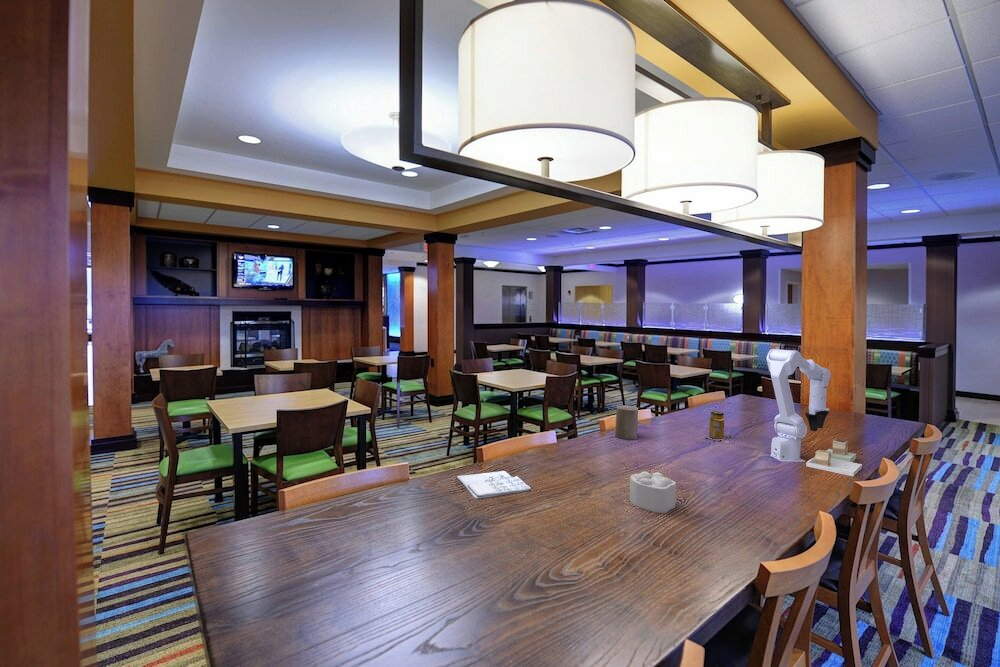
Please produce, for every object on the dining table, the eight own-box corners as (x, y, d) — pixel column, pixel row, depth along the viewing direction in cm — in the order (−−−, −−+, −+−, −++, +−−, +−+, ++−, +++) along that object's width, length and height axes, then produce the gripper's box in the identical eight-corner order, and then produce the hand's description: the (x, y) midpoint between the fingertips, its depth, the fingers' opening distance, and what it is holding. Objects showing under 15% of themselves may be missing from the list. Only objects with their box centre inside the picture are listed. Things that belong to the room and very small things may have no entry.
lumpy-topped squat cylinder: (662, 515, 135) (662, 485, 134) (622, 501, 144) (622, 473, 144) (679, 505, 142) (680, 476, 141) (640, 492, 151) (640, 466, 151)
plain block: (827, 467, 175) (828, 454, 175) (815, 464, 178) (815, 451, 178) (830, 465, 178) (831, 452, 178) (818, 462, 181) (818, 449, 181)
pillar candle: (617, 439, 212) (619, 406, 212) (613, 433, 222) (614, 402, 221) (639, 440, 212) (641, 407, 211) (634, 434, 222) (635, 402, 221)
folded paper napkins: (475, 501, 145) (475, 494, 145) (456, 479, 163) (456, 472, 163) (531, 492, 152) (531, 486, 152) (507, 472, 171) (507, 466, 170)
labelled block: (844, 455, 183) (845, 442, 183) (832, 453, 186) (832, 440, 186) (847, 453, 186) (848, 441, 185) (835, 451, 189) (835, 438, 188)
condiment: (727, 438, 216) (728, 412, 216) (719, 442, 210) (720, 415, 210) (710, 435, 221) (711, 409, 221) (703, 438, 216) (704, 412, 215)
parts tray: (861, 469, 175) (862, 464, 175) (853, 477, 166) (853, 472, 166) (816, 460, 185) (816, 455, 185) (806, 467, 177) (806, 462, 177)
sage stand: (850, 465, 180) (850, 458, 180) (822, 459, 187) (822, 453, 186) (855, 460, 186) (856, 453, 186) (828, 454, 193) (828, 448, 192)
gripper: (824, 400, 185) (822, 434, 186) (834, 395, 195) (832, 428, 196) (803, 397, 191) (802, 430, 191) (814, 393, 200) (813, 425, 201)
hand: (816, 429), depth 194 cm, fingers open, 7 cm apart
